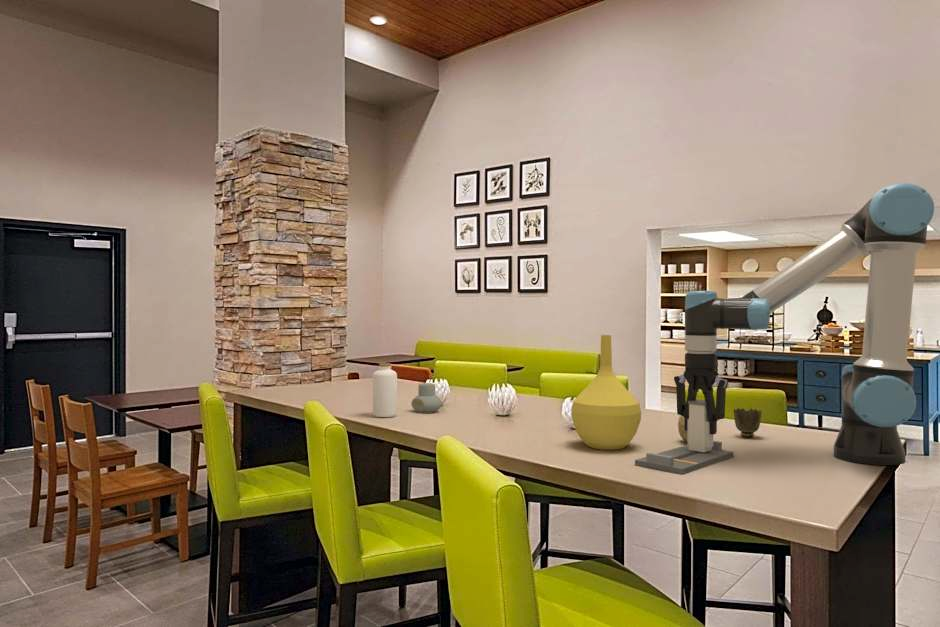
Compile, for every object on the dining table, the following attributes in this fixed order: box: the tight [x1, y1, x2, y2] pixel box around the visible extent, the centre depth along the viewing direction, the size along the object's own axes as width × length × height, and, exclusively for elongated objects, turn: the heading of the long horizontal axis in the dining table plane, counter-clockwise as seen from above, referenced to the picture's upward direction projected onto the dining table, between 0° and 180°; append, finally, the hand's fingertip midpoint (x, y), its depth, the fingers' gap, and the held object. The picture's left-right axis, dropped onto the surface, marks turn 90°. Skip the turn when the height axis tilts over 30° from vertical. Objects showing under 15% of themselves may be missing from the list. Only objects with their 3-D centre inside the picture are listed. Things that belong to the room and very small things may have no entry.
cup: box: [733, 407, 763, 439], centre depth 186 cm, size 8×7×8 cm
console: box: [634, 440, 734, 475], centre depth 157 cm, size 26×12×3 cm, turn 134°
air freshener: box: [411, 382, 443, 413], centre depth 232 cm, size 11×8×10 cm
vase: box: [570, 334, 642, 451], centre depth 174 cm, size 18×18×30 cm
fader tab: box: [688, 398, 712, 452], centre depth 162 cm, size 4×4×12 cm
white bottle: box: [372, 362, 398, 418], centre depth 222 cm, size 8×8×18 cm
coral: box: [677, 415, 687, 443], centre depth 179 cm, size 10×10×10 cm
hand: (700, 445), depth 162 cm, fingers closed on fader tab, 4 cm apart
